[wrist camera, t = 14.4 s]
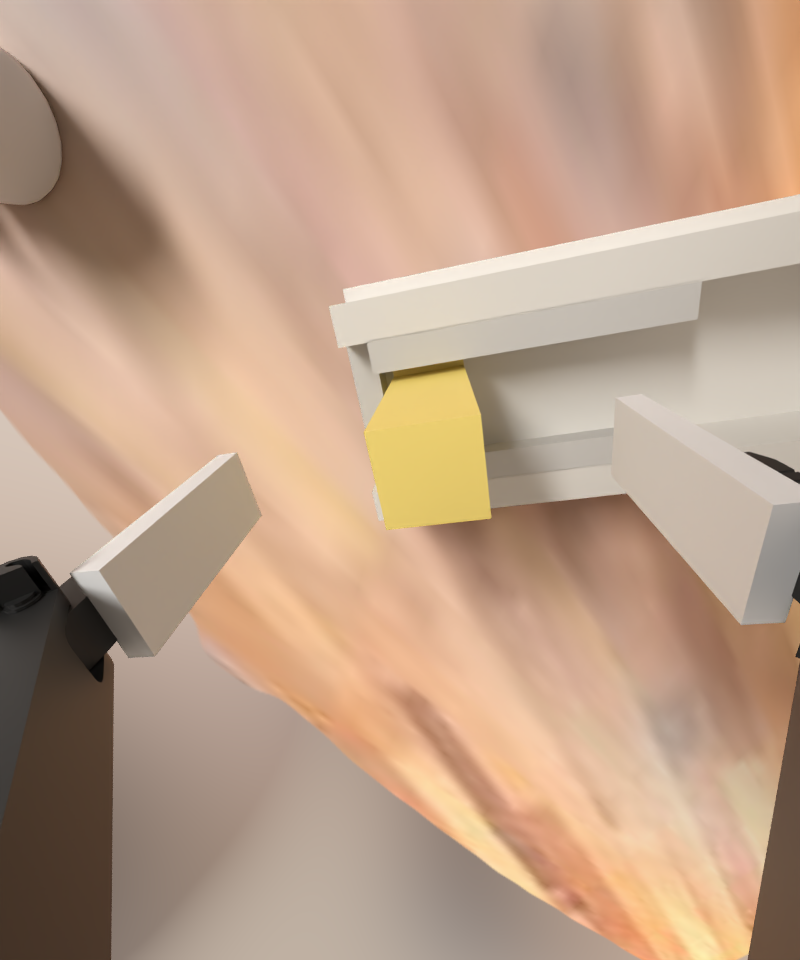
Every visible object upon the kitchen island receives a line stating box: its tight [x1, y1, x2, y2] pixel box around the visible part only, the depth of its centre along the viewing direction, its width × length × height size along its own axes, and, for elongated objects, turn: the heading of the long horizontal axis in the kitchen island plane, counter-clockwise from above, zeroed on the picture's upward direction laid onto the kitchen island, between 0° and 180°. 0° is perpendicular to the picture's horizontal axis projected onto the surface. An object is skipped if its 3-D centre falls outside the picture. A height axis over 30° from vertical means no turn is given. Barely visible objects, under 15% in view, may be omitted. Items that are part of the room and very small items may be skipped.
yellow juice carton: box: [364, 359, 491, 530], centre depth 19 cm, size 7×4×12 cm, turn 10°
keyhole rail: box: [329, 194, 800, 521], centre depth 22 cm, size 14×27×5 cm, turn 100°
